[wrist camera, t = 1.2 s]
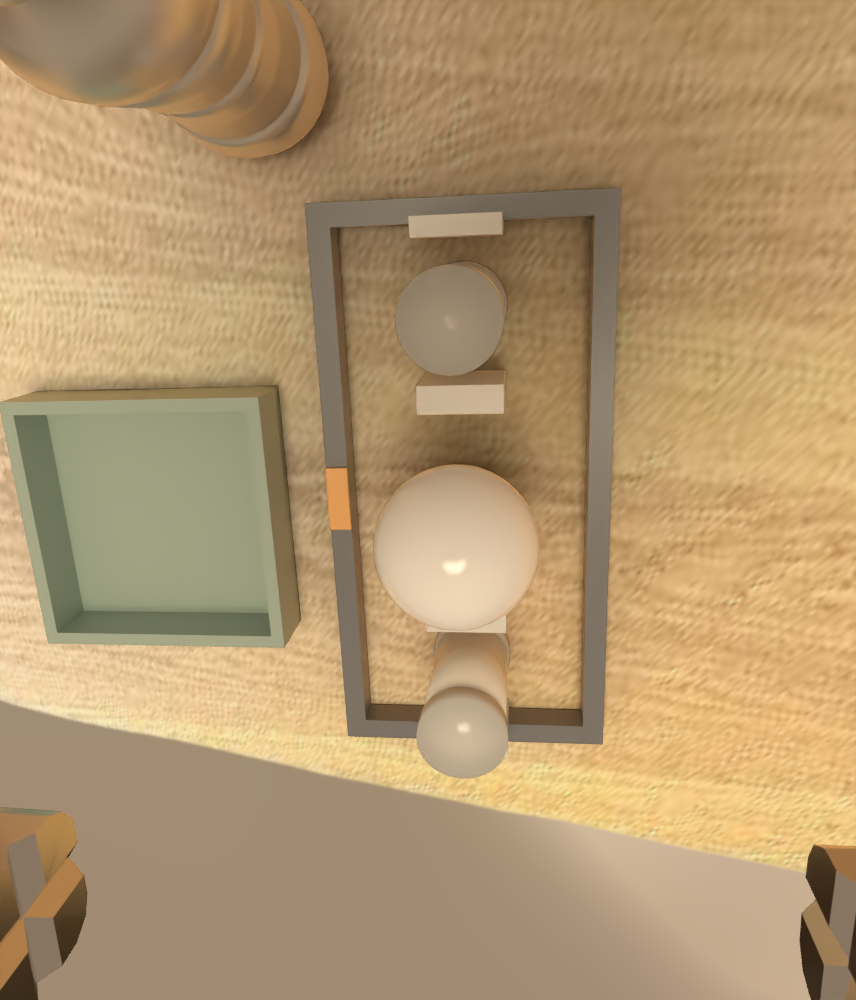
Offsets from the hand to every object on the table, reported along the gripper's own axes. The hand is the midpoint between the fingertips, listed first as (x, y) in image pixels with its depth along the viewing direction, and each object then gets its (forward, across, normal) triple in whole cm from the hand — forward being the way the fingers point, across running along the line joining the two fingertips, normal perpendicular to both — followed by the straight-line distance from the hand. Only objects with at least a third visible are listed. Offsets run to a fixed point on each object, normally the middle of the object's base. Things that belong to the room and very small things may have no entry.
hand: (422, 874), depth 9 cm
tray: (+29, +16, +4) cm, 34 cm away
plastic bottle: (+29, +10, -15) cm, 34 cm away
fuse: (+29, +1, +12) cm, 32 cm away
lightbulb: (+29, +1, +3) cm, 30 cm away
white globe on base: (+29, +1, -5) cm, 29 cm away
